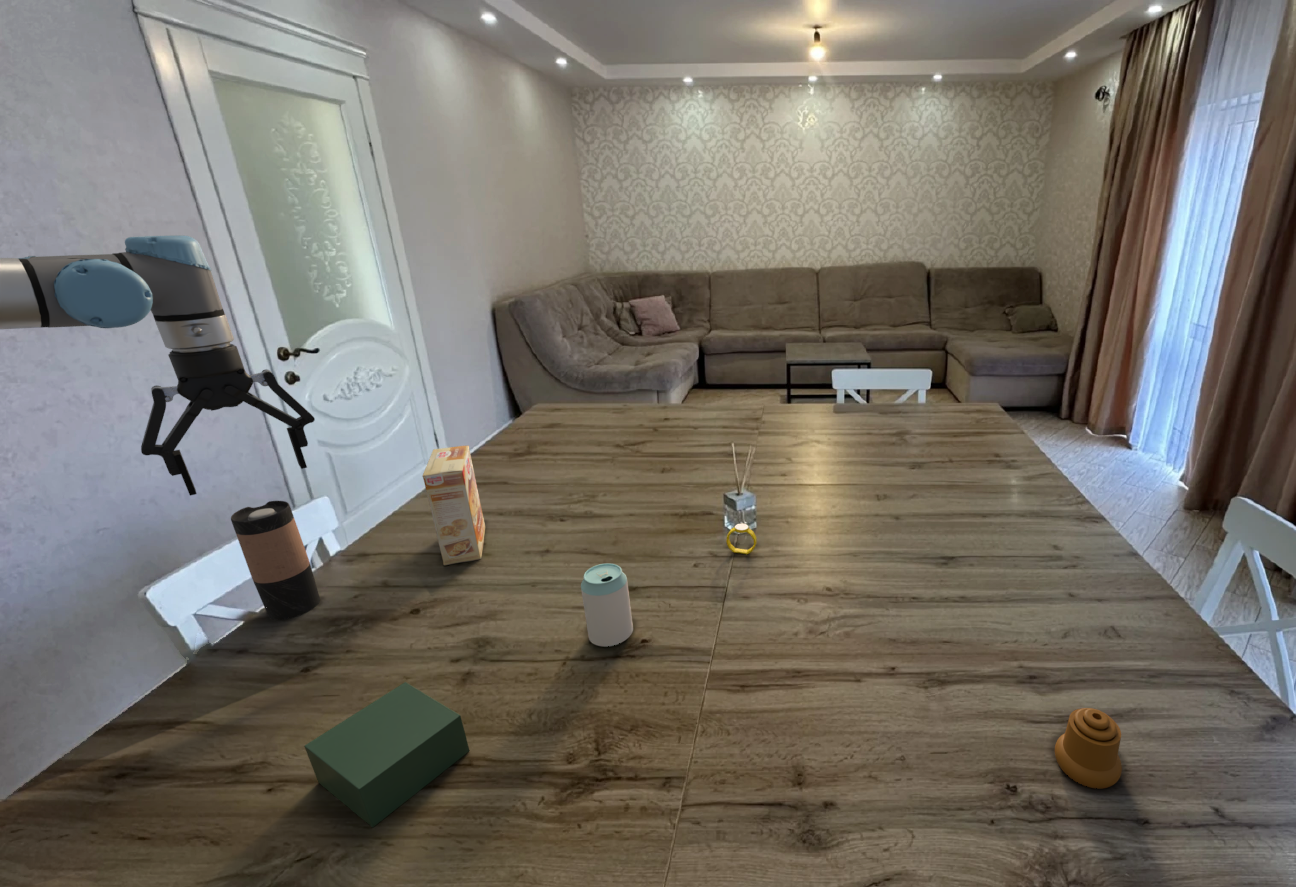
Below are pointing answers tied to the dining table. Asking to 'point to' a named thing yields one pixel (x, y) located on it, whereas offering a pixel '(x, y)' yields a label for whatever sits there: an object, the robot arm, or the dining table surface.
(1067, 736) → the ornamental finial
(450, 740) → the green block
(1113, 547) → the dining table surface
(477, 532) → the coffeecake box
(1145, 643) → the dining table surface
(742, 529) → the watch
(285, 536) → the travel mug
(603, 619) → the can
